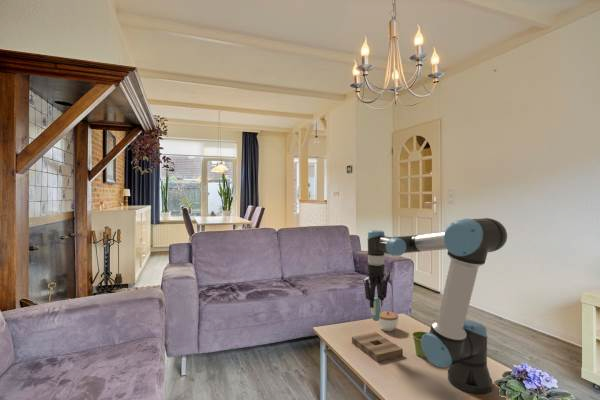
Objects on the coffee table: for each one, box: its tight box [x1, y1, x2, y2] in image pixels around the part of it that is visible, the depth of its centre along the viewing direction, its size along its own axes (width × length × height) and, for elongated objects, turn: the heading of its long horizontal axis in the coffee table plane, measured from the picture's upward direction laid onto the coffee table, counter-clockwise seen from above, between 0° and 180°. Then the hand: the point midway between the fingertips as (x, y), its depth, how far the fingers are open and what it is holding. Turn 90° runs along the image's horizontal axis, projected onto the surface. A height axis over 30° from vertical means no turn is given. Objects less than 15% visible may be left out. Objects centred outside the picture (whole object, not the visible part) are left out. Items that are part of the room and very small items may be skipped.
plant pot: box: [411, 330, 428, 359], centre depth 147 cm, size 9×9×9 cm
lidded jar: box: [377, 310, 399, 332], centre depth 176 cm, size 11×11×9 cm
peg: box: [372, 296, 379, 322], centre depth 152 cm, size 3×3×10 cm
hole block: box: [351, 331, 404, 363], centre depth 152 cm, size 20×14×3 cm
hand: (376, 313), depth 152 cm, fingers closed on peg, 2 cm apart
